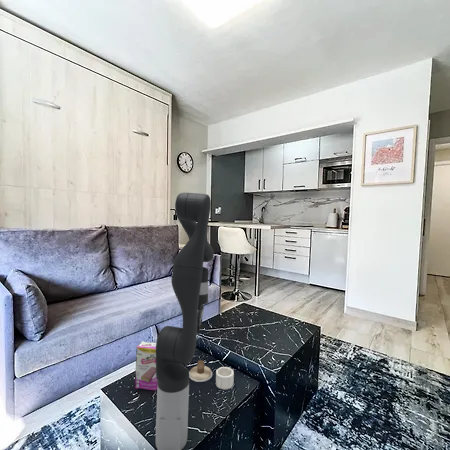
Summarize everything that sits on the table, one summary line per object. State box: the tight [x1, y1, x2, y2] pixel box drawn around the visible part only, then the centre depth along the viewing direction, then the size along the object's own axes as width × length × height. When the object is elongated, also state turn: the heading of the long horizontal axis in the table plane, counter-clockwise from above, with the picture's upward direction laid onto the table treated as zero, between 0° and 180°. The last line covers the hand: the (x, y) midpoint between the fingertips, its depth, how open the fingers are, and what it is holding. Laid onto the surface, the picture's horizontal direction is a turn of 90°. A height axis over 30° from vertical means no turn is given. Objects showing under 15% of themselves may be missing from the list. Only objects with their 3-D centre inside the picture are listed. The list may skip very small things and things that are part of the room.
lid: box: [189, 360, 212, 380], centre depth 105 cm, size 9×9×5 cm
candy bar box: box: [134, 341, 158, 392], centre depth 96 cm, size 11×5×16 cm, turn 84°
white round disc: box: [189, 370, 213, 383], centre depth 105 cm, size 10×10×1 cm
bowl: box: [215, 366, 235, 390], centre depth 100 cm, size 7×7×5 cm
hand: (198, 329), depth 106 cm, fingers open, 8 cm apart
